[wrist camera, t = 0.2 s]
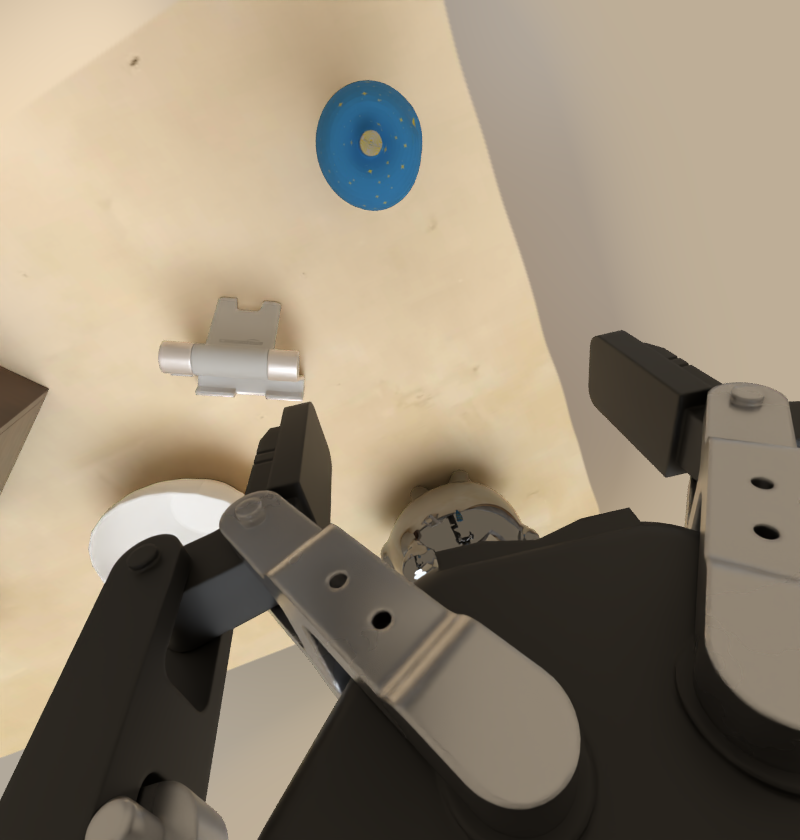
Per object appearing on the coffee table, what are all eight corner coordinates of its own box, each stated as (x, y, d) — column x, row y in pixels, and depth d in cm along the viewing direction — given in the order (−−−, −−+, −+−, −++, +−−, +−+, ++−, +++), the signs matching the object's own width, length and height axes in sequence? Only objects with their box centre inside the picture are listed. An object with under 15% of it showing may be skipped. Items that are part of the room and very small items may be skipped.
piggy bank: (359, 487, 46) (363, 578, 36) (495, 437, 44) (539, 517, 35) (397, 554, 52) (410, 647, 42) (519, 511, 50) (561, 597, 40)
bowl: (303, 460, 43) (297, 509, 37) (275, 569, 51) (266, 625, 45) (124, 427, 39) (85, 476, 33) (122, 551, 47) (89, 609, 41)
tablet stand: (202, 384, 38) (170, 437, 31) (192, 293, 34) (153, 330, 27) (304, 391, 39) (296, 443, 32) (306, 304, 35) (297, 342, 28)
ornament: (385, 202, 32) (413, 234, 19) (316, 176, 31) (297, 191, 18) (409, 123, 30) (459, 99, 17) (336, 90, 29) (330, 38, 16)
